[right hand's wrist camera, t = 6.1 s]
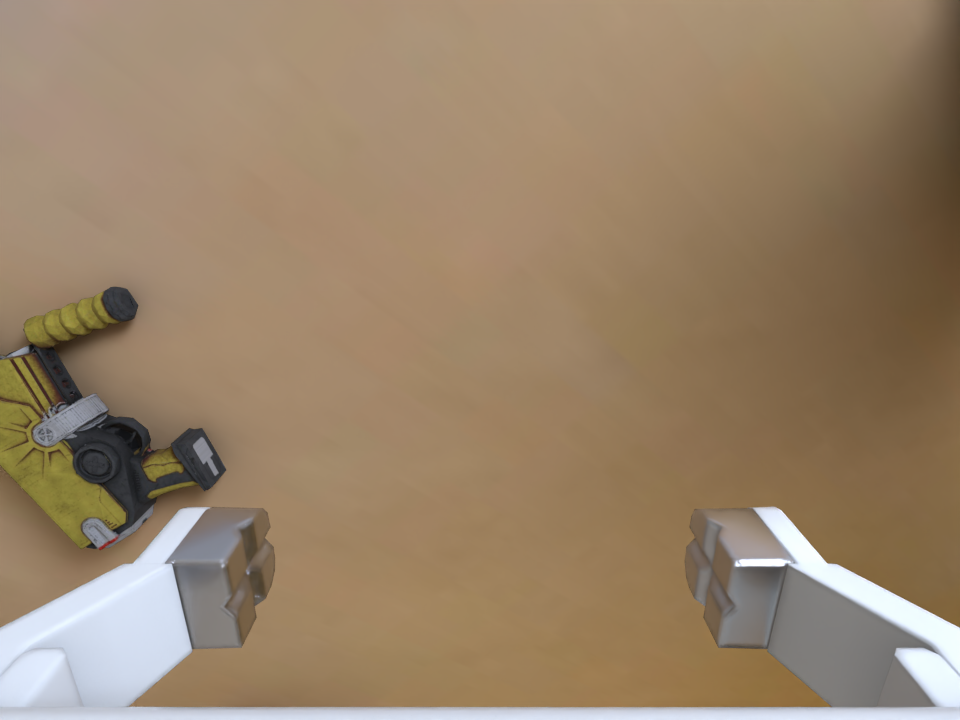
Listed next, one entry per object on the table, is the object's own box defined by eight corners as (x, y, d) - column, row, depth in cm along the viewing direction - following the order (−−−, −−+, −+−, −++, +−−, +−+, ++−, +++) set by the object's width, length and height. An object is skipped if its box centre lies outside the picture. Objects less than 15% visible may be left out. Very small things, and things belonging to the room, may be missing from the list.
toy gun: (3, 174, 35) (-176, 299, 36) (244, 469, 41) (84, 567, 42) (55, 178, 39) (-106, 289, 40) (265, 443, 45) (119, 532, 47)
